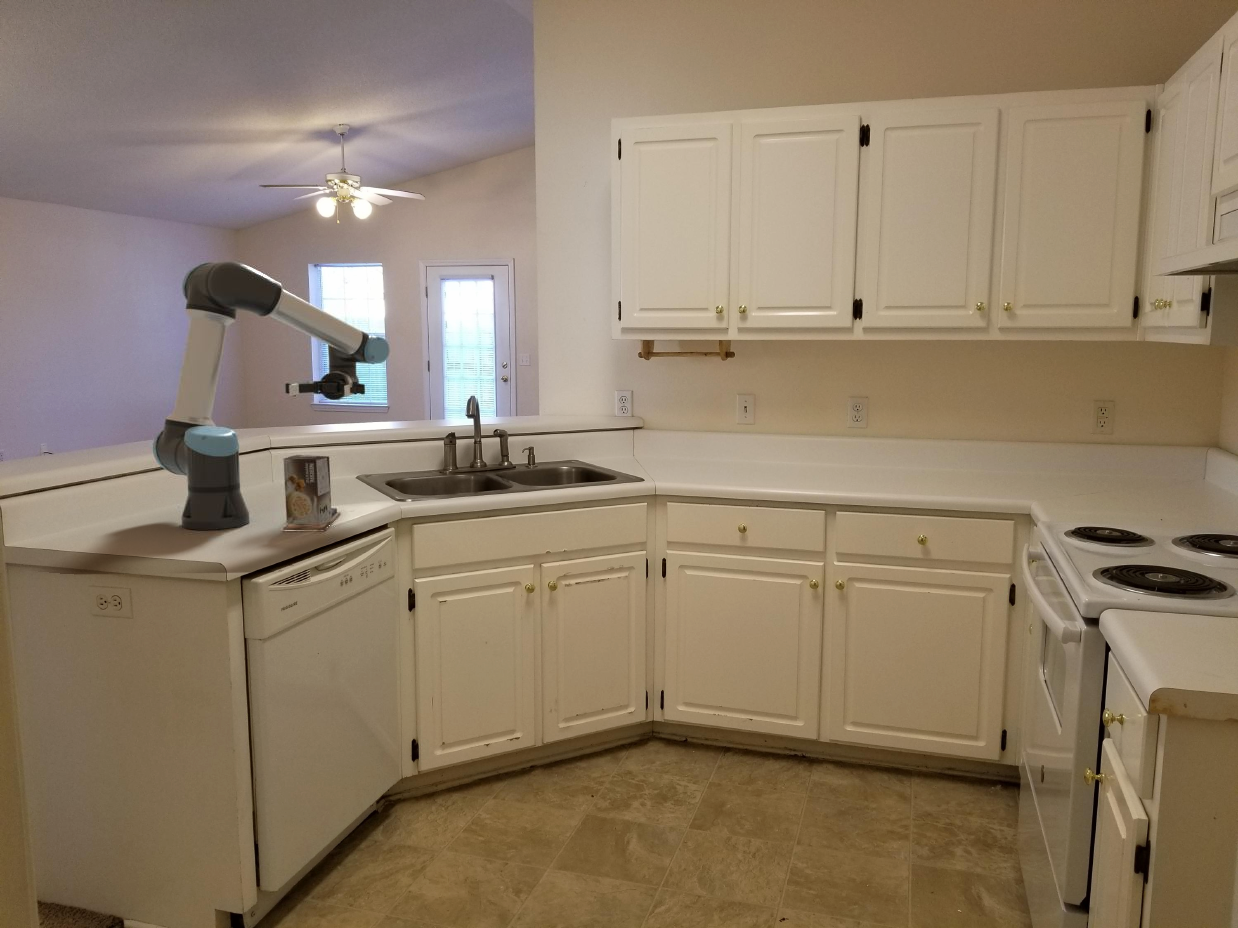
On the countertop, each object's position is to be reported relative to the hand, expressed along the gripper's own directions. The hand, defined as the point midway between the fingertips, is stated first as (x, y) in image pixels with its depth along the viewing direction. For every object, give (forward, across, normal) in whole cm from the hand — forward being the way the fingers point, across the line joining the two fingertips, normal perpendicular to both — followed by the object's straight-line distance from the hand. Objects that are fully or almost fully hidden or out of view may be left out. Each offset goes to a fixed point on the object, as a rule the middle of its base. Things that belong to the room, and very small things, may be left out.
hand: (318, 390), depth 228 cm
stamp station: (+10, 0, -32) cm, 34 cm away
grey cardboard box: (+14, 0, -31) cm, 34 cm away
